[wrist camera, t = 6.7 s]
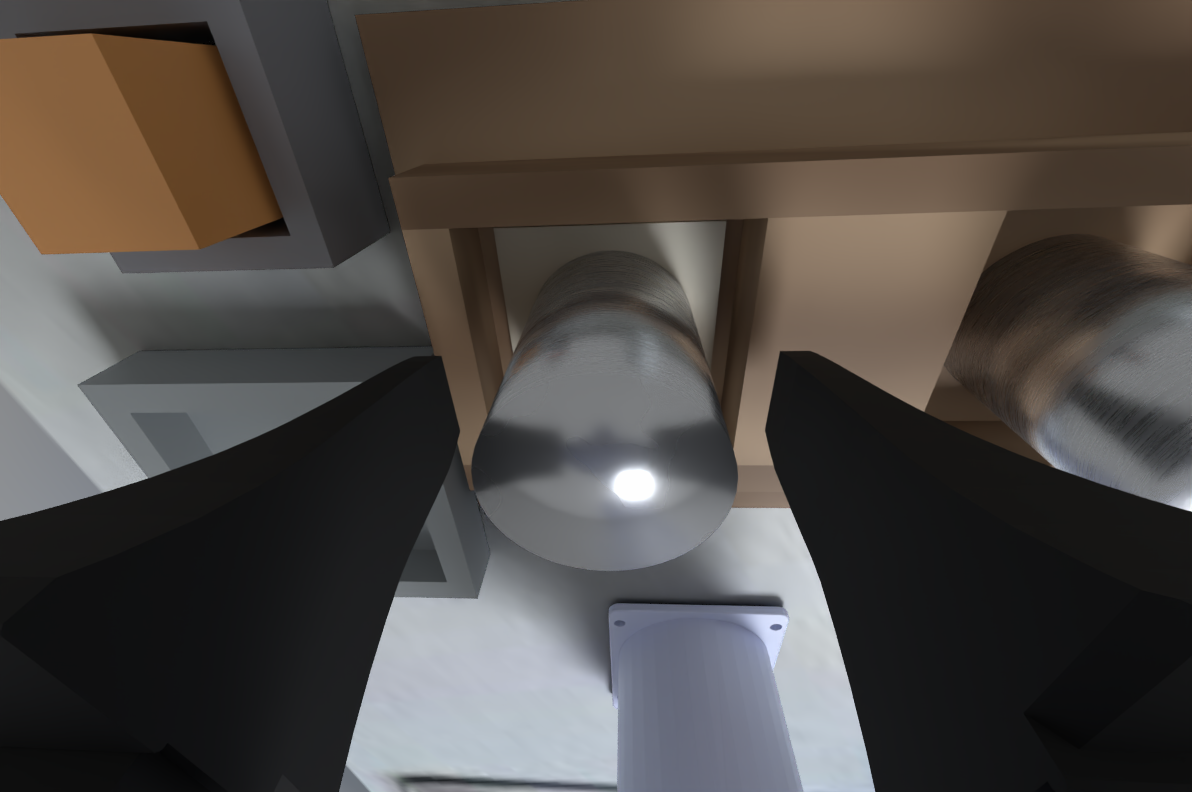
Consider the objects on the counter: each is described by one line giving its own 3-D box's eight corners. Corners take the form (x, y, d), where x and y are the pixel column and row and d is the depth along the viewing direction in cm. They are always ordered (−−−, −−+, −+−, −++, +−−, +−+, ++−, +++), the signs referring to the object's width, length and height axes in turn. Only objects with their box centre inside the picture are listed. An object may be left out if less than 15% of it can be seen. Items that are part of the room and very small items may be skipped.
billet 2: (1078, 390, 13) (1351, 573, 8) (916, 391, 14) (1086, 569, 9) (1176, 231, 11) (1642, 353, 6) (977, 237, 11) (1262, 358, 6)
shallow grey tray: (490, 554, 20) (477, 598, 18) (269, 550, 21) (236, 593, 19) (437, 346, 15) (412, 381, 13) (139, 351, 15) (77, 385, 14)
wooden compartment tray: (1069, 488, 17) (1149, 560, 14) (485, 486, 18) (463, 550, 16) (1443, -47, 9) (1762, -98, 6) (376, 20, 10) (297, -1, 8)
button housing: (390, 232, 13) (333, 267, 10) (217, 237, 13) (122, 273, 11) (324, -6, 10) (226, -37, 8) (108, 8, 10) (-53, -16, 8)
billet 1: (685, 400, 14) (718, 575, 9) (537, 396, 14) (490, 567, 9) (701, 250, 12) (760, 377, 7) (524, 249, 12) (448, 371, 7)
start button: (298, 211, 11) (199, 249, 8) (175, 215, 11) (42, 254, 8) (238, 47, 9) (91, 33, 7) (94, 56, 9) (-102, 45, 7)
